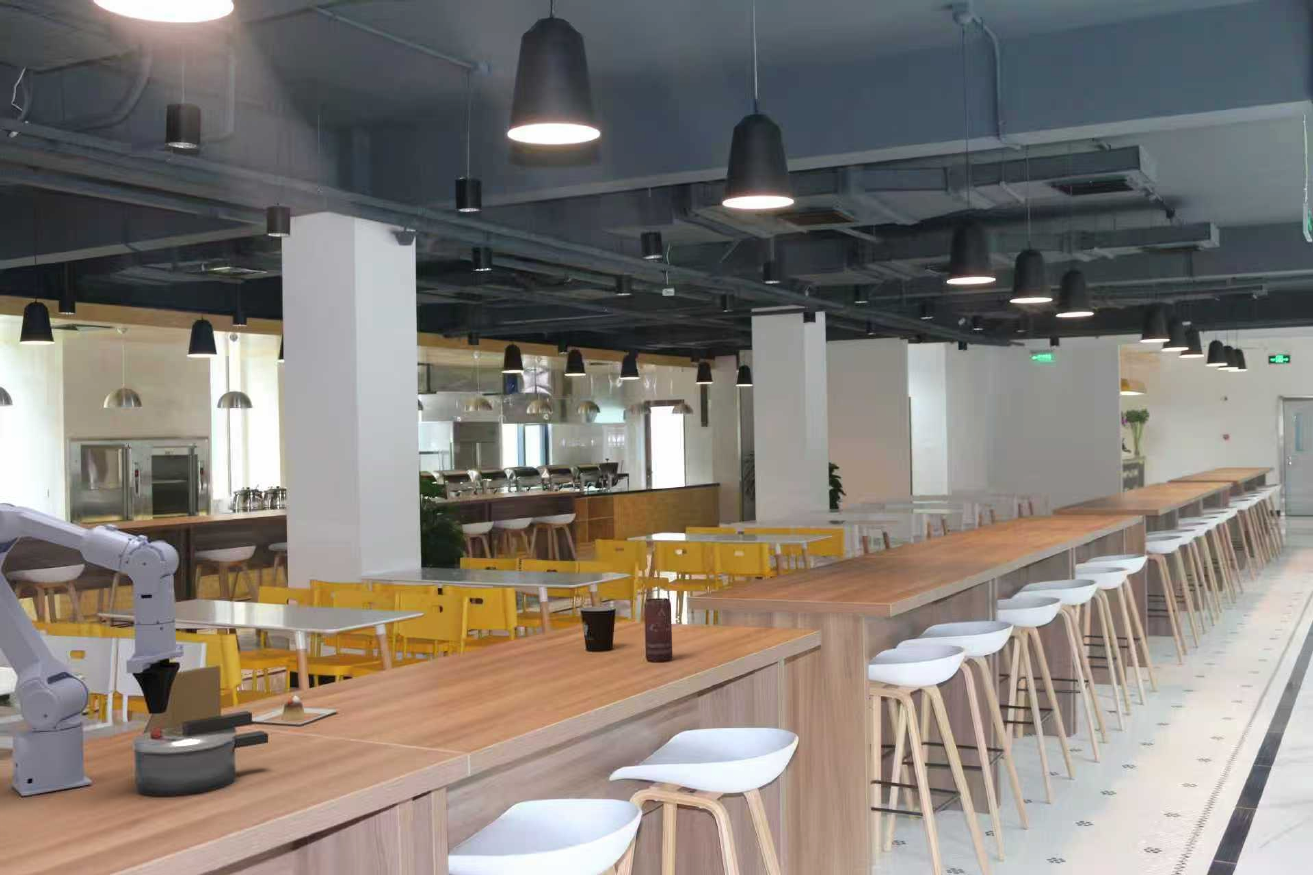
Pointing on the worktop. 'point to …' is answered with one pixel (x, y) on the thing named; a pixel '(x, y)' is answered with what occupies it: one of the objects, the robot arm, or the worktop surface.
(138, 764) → the cooker pot
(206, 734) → the cooker lid
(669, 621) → the can
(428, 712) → the worktop surface
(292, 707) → the dessert
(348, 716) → the worktop surface
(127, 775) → the worktop surface
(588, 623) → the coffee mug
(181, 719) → the sandwich container
